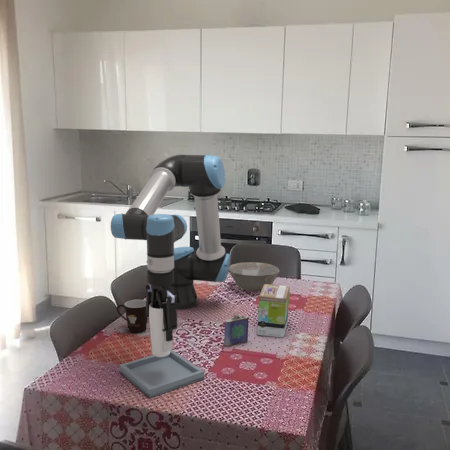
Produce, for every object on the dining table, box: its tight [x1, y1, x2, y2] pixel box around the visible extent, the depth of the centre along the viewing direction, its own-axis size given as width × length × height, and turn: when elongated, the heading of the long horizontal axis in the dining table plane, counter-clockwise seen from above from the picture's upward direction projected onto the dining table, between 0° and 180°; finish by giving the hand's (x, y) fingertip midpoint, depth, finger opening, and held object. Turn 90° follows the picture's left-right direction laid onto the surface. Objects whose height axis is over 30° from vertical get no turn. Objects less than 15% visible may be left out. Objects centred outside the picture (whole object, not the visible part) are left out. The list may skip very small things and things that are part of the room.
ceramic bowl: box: [228, 261, 280, 293], centre depth 227 cm, size 22×23×10 cm
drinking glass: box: [148, 302, 170, 357], centre depth 145 cm, size 7×7×15 cm
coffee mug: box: [116, 299, 149, 335], centre depth 181 cm, size 12×9×10 cm
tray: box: [119, 349, 205, 399], centre depth 147 cm, size 18×18×2 cm
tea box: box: [256, 284, 291, 338], centre depth 182 cm, size 15×10×15 cm
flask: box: [223, 312, 250, 348], centre depth 170 cm, size 9×3×11 cm, turn 121°
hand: (161, 346), depth 146 cm, fingers closed on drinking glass, 6 cm apart
